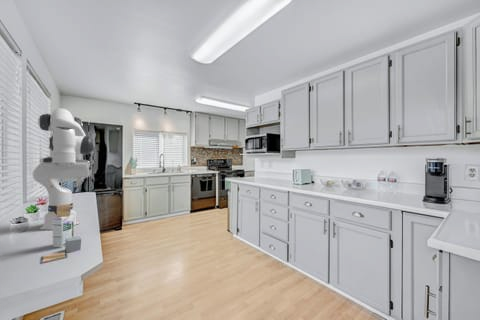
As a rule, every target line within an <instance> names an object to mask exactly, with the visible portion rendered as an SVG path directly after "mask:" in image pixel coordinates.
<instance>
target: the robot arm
mask: <svg viewBox="0 0 480 320" xmlns="http://www.w3.org/2000/svg"><path fill="white" fill-rule="evenodd" d="M37 124H38V126H39V128H40V129H41V130H43V131H46V132H52V134H51V136H50V137H48V138H49V139H48V140H49V145H48V149H49V156H46V157H41V158H39V164H38V165H37V166H36V167H35V168H34V169H33V171H32V173H31V174H32V179H34V181H35V182H36V183H39V184H41V185H42V186H43V187H44V188H45V190H46V191H47V193H48V206H47V213H45V215H44V217H43V218H44V222H43V225H42V226H41V227H39V230H41V231H42V230H43V231H44V230H46V231H48V230H50V231H53V217H57V205H64V204H70V214H71V215H73V225H74V226H76V225H80V221H78V220H76V218H77V216H76V213H77V212H76V211H75V210H74V205H73V204H74V203H73V191H72V190H71V189H70V188H67V187H64V186H61V185H60V183H70V182H71V183H73V182H74V183H73V184H74V185H73V187H74V188H77V187H79V183H80V182H81V181H83V180H84V179H85V178H88V177H90V169H89V168H90V166H91V162H90V161H89V160H87V159H77V158H76V157H77V154H78V155H79V154H80V155H89V154H91V153H92V152H94V149H95V148H94V147H95V142H94V140H93V139H92V137H91V136H90V135H89V134H88V132H87V130H86V129H85V128H84V125H83V121H82V119H81V118H79V117H76V116H73V115H72V113H71V112H70V111H69V110H68V109H66V108H63V107H62V108H61V107H58V108H55V109H54V110H53V111H52V112H51V114H50V113H43V114H41V115H39V117H38V120H37Z"/></svg>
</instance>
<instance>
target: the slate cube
mask: <svg viewBox="0 0 480 320" xmlns="http://www.w3.org/2000/svg"><path fill="white" fill-rule="evenodd" d="M81 247H82V238H81V236H75V237H73V238H66V243H65V247H64V252H65V251H66V253H67V254H68V253H72V252H77V251H81V250H82V249H81Z"/></svg>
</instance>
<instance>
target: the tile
mask: <svg viewBox="0 0 480 320" xmlns="http://www.w3.org/2000/svg"><path fill="white" fill-rule="evenodd" d="M64 259H68V253H66V251H65V250H64V251H60V252H56V253H50V254H46V255H42V256H41V257H40V262H39V264H40V265H43V264H46V263H47V264H48V263H51V262H55V261H59V260H60V261H61V260H64Z"/></svg>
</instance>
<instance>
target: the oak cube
mask: <svg viewBox="0 0 480 320" xmlns="http://www.w3.org/2000/svg"><path fill="white" fill-rule="evenodd" d="M64 216H70V204H64V205H57V217H64Z"/></svg>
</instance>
